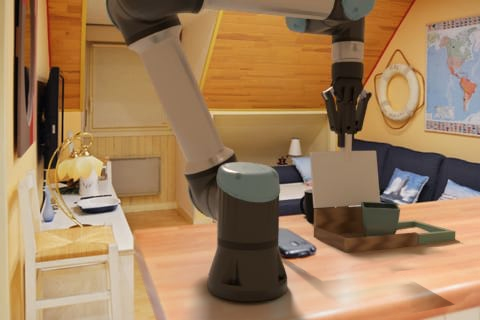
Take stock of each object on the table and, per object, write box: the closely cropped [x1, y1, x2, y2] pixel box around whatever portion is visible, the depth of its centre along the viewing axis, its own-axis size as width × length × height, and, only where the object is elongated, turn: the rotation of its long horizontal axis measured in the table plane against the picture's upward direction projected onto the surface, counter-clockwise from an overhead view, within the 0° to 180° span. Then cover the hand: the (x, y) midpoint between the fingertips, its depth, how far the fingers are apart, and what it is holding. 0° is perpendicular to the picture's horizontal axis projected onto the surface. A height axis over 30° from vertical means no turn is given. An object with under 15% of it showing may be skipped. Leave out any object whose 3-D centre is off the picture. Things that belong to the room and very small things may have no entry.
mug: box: [299, 188, 336, 224], centre depth 134 cm, size 12×9×10 cm
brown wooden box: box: [313, 205, 419, 254], centre depth 115 cm, size 20×15×8 cm
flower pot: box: [360, 202, 401, 237], centre depth 116 cm, size 9×9×9 cm
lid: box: [309, 150, 381, 208], centre depth 122 cm, size 20×14×1 cm
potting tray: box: [397, 220, 456, 246], centre depth 120 cm, size 12×14×2 cm
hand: (345, 161), depth 111 cm, fingers closed
